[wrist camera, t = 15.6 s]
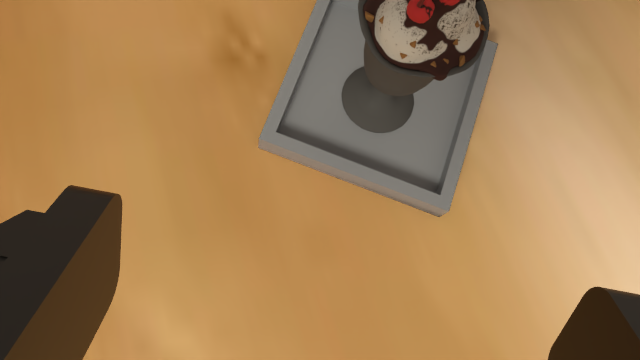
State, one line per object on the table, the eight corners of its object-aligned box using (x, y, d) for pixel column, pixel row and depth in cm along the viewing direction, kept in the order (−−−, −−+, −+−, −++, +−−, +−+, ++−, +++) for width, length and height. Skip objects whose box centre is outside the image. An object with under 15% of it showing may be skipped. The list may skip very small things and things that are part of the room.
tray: (258, 147, 35) (258, 138, 33) (323, -8, 38) (327, -24, 36) (439, 217, 35) (448, 211, 33) (486, 56, 38) (497, 43, 37)
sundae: (335, 150, 35) (394, 27, 20) (323, 56, 36) (371, -120, 22) (432, 144, 36) (555, 22, 21) (417, 52, 37) (522, -119, 23)
